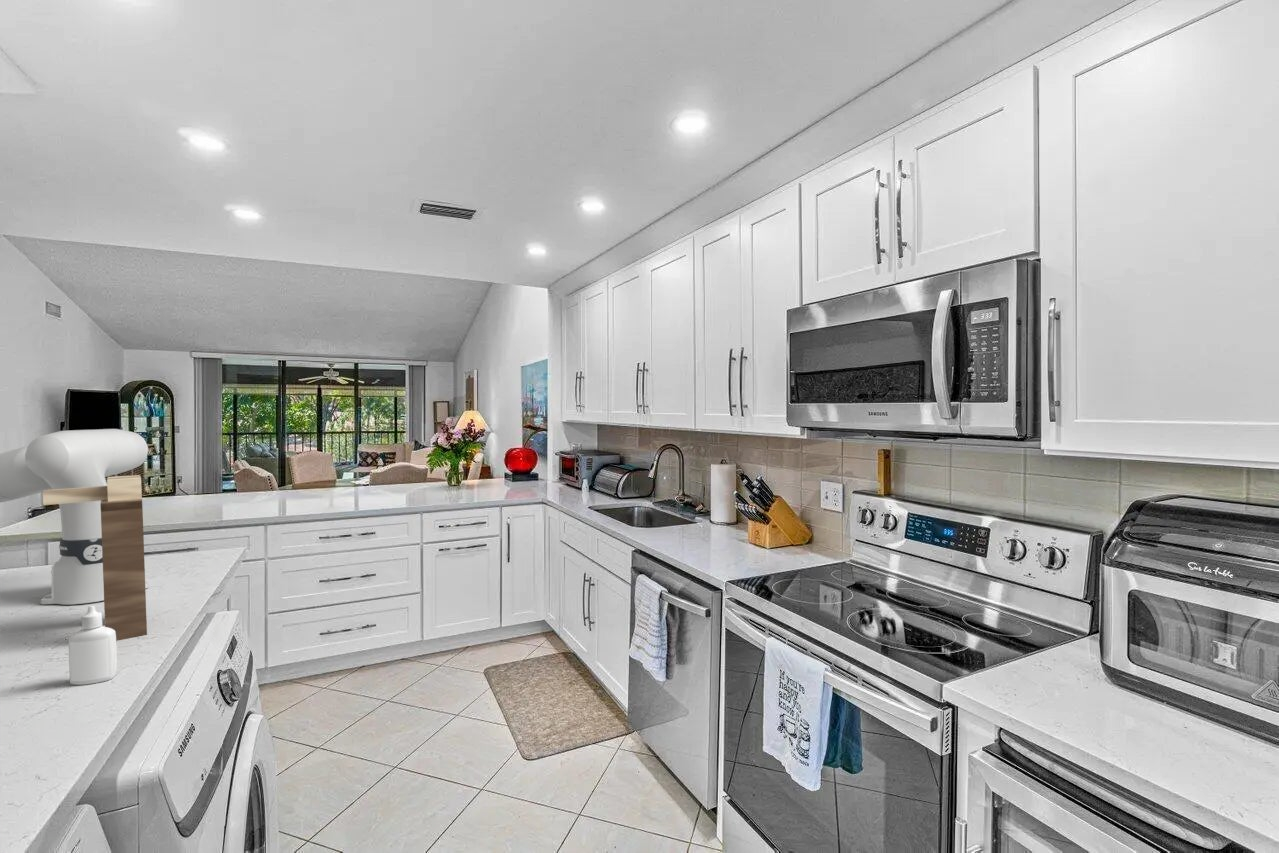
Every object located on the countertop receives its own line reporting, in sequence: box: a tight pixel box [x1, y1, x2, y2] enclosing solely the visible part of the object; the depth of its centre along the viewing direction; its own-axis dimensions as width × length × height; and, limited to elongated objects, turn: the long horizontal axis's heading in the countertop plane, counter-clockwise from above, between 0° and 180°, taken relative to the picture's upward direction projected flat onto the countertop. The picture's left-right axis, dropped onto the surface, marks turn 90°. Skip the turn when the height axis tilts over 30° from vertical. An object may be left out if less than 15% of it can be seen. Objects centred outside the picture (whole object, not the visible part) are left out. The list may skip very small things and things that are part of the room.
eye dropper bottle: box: [68, 605, 118, 686], centre depth 98 cm, size 4×6×12 cm
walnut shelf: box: [101, 498, 148, 641], centre depth 121 cm, size 14×6×26 cm, turn 40°
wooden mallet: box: [42, 474, 143, 506], centre depth 117 cm, size 8×14×4 cm, turn 130°
